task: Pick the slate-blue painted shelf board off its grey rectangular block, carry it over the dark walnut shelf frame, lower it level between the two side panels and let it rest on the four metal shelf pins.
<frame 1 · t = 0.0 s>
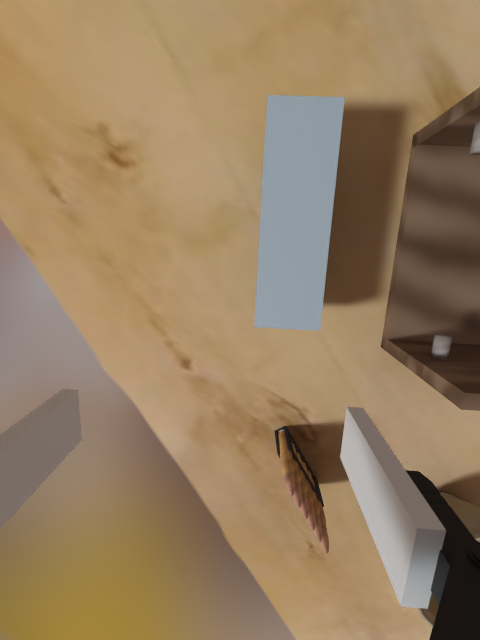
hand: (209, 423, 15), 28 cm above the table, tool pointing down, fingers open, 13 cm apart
ammunition clip: (296, 455, 47), on the table
planter bowl: (433, 515, 48), on the table
shelf board: (291, 224, 35), point 5 cm above the table, touching grey rectangular block
shelf frame: (452, 251, 39), on the table
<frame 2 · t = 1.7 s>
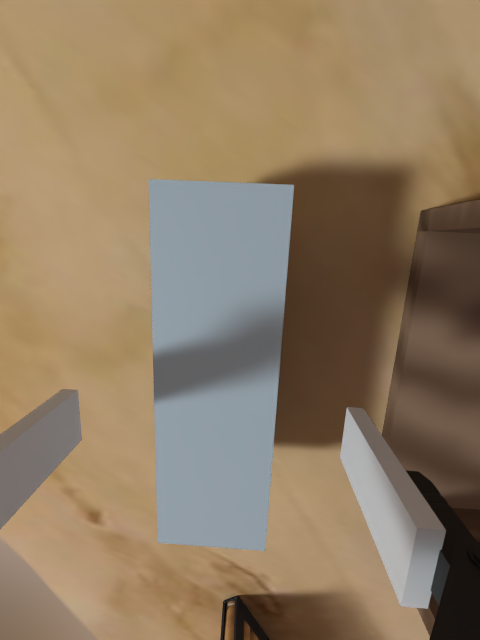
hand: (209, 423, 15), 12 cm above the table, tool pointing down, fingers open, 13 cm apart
ammunition clip: (254, 628, 34), on the table
shelf board: (222, 364, 21), point 5 cm above the table, touching grey rectangular block
shelf frame: (477, 379, 26), on the table
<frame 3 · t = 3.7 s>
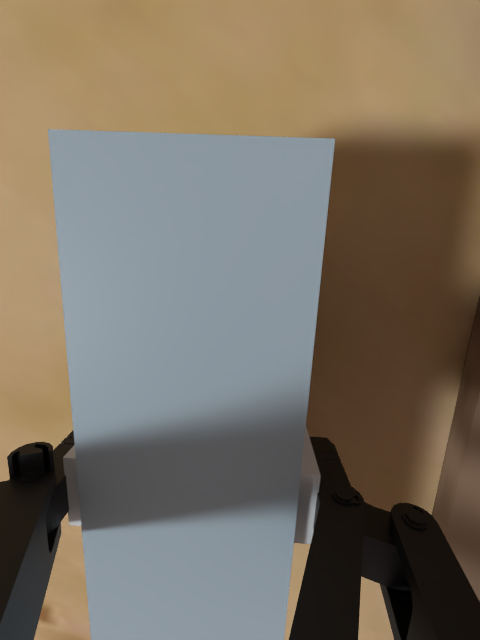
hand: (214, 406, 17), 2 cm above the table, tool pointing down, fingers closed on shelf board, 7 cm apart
shelf board: (205, 439, 14), point 5 cm above the table, touching grey rectangular block, gripper
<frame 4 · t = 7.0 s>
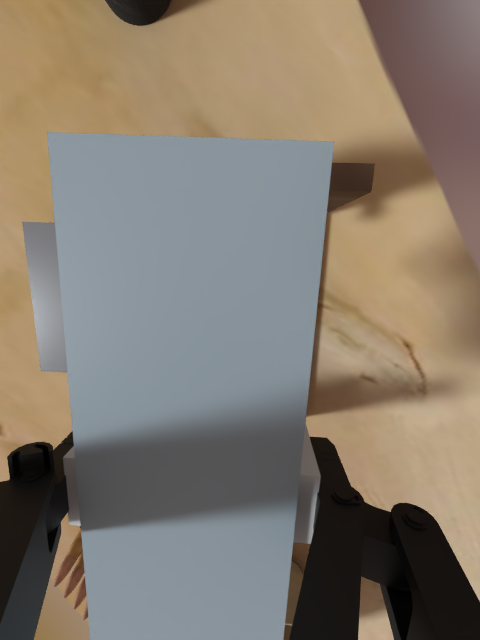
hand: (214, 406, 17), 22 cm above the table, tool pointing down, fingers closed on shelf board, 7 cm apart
ammunition clip: (124, 518, 46), on the table
planter bowl: (272, 577, 47), on the table
shelf board: (205, 440, 14), point 24 cm above the table, touching gripper
grey rectangular block: (76, 294, 38), on the table
shelf frame: (248, 317, 38), on the table
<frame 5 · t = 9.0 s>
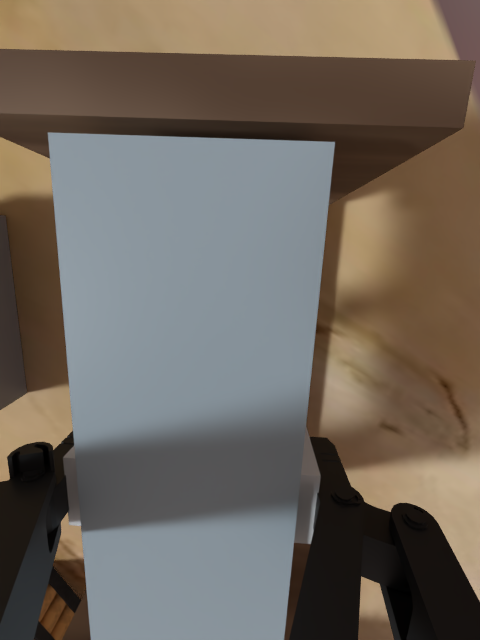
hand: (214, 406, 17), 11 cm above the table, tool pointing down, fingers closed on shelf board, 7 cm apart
ammunition clip: (70, 595, 35), on the table
shelf board: (205, 440, 14), point 14 cm above the table, touching gripper
shelf frame: (229, 343, 27), on the table
when the fingers open (7 cm above the table, at t = 10.5 s): shelf board drops 2 cm, resting on shelf frame.
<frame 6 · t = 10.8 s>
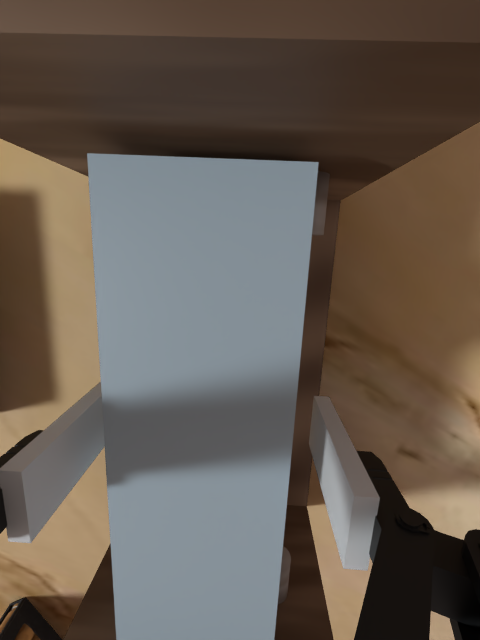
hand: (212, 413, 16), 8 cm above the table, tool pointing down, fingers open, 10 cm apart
ammunition clip: (51, 633, 32), on the table
shelf board: (210, 417, 16), point 9 cm above the table, touching shelf frame
shelf frame: (226, 358, 24), on the table
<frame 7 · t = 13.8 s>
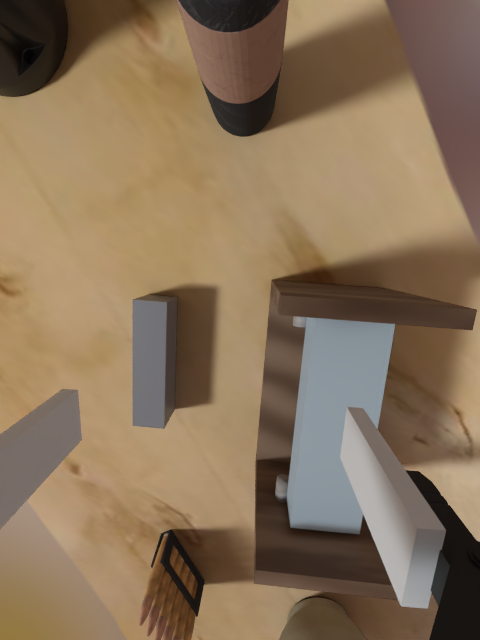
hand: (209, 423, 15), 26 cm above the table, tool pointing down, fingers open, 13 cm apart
ammunition clip: (183, 556, 49), on the table
planter bowl: (317, 618, 50), on the table
travel mug: (243, 104, 36), on the table
shelf board: (329, 412, 33), point 9 cm above the table, touching shelf frame
grey rectangular block: (161, 354, 42), on the table
shelf frame: (315, 381, 42), on the table
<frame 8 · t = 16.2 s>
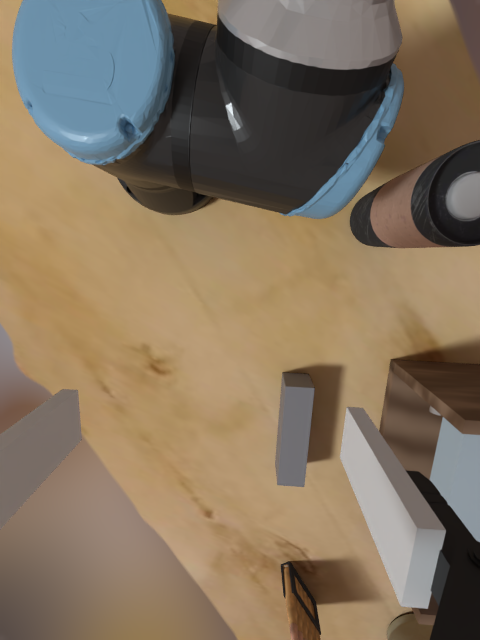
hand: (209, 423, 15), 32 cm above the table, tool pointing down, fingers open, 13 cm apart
ammunition clip: (298, 582, 57), on the table
planter bowl: (411, 630, 58), on the table
travel mug: (375, 219, 43), on the table
shelf board: (456, 479, 41), point 9 cm above the table, touching shelf frame
grey rectangular block: (291, 420, 50), on the table
shelf frame: (423, 440, 49), on the table
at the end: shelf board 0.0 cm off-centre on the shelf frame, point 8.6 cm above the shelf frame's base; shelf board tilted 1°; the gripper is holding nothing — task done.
